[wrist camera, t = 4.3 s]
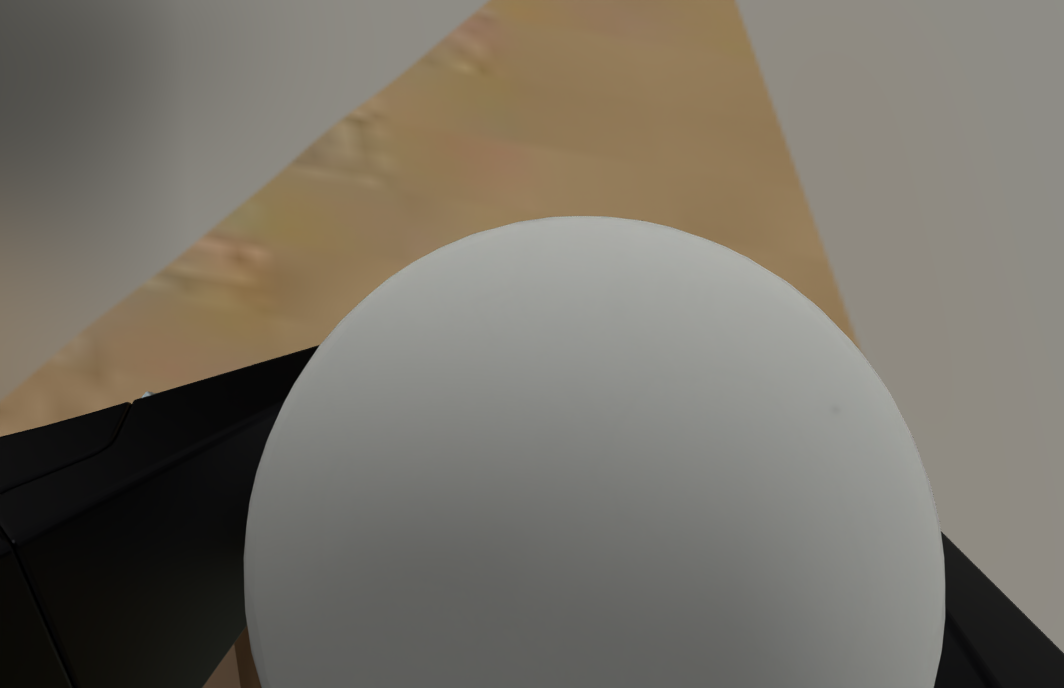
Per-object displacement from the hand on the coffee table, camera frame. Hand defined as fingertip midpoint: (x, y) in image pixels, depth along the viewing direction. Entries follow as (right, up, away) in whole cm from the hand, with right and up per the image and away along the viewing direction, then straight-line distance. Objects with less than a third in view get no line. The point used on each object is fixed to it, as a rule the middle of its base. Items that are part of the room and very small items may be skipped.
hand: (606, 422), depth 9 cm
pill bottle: (0, -3, +6) cm, 7 cm away
